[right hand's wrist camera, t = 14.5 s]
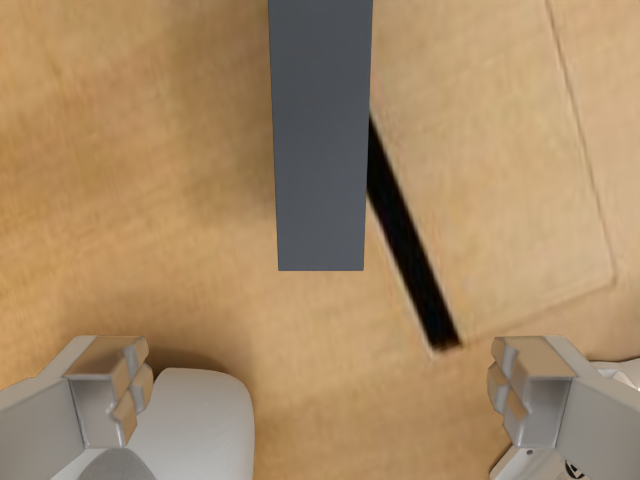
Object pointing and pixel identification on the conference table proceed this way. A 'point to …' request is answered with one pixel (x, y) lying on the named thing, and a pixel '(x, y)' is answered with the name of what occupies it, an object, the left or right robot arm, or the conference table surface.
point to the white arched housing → (181, 434)
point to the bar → (320, 130)
